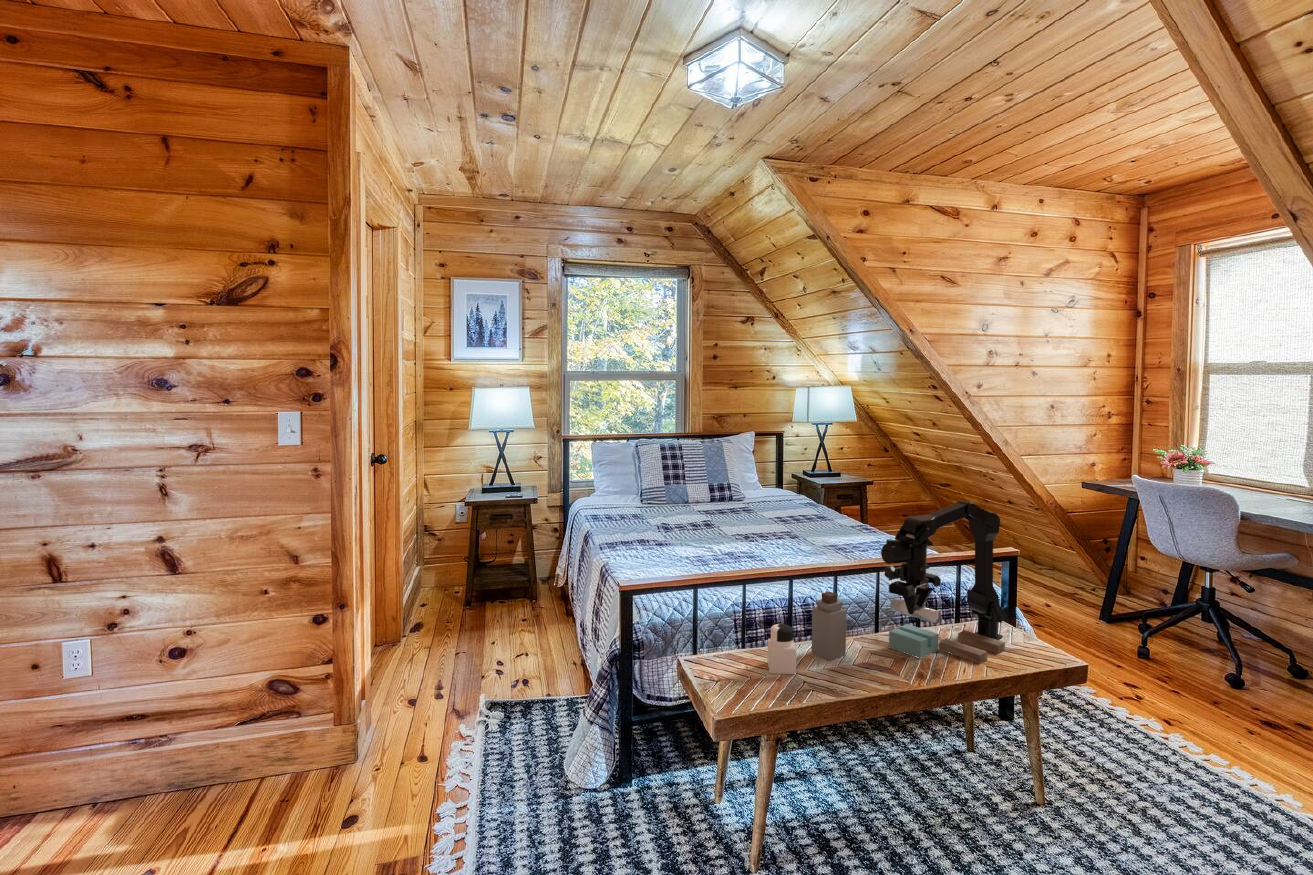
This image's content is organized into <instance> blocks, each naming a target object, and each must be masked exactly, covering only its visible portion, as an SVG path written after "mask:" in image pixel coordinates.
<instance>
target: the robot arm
mask: <svg viewBox="0 0 1313 875" xmlns="http://www.w3.org/2000/svg"><path fill="white" fill-rule="evenodd" d="M961 519H964V520H966V521H968V529H969V531H970V533H971V534H972V536H973V538H974V585H972V588H971V589H967V591H966V593H967V599H966V603H968V607H969V609H970V612H971V614H973V615H975V616H977V630H976V631H975V632H974V633H976V634H979V635H982V636H986V637H989V638H992V639H996V640H1001V639H1002V638H1004V635H1002V634H999V623H1001V624H1002V623H1003V622H1005V621H1006V620H1007V616H1008V613H1007V612H1006V611H1005V610H1004V609H1003V608H1002V607H1001V605H1000V599H999V595H998V592H997V591H996V589H995V587H994V539H996V537H997V535H998V534H999V532H1000V526H1001V525H1000V524H1001V519H1000V516H999V515H998V514H997V513H995V512H992V511H988V510H985V508H982V507H980V506H977V504H975V503H974V502H970V501H965V500H959V501H957V502H955V503H953V504H950V505H948V506H946V507H944V508H941V509H938V510H936V511H935V512H934V511H933V512H931V513H930V514H923V515H922V514H921V515H919V514H918V515H913V516H908V517H907V518H905V519H904V522H903V524H902V525H901V527H900V528H899V531H898V532H897V533H896V535H895V536H894V539H887V540H886V541H885V544H883V546H882V547H881V550H880V555H881V558H882V560H883V562H884V563H885V564H888V565H891V566H887V567H885V568H884V576H885V577H886V578H887V579H888V581H892V580H897V581H893V582H891V583H890V584H889V585H888V593H890V594H893V595H897V596H900V597H902V598H903V601H905V604H906V607H907V610H908V613H909V614H911V615H912V614H913V612H914V610H915V607H916V605H919V606H923V607H924V606H925V604H926V601H927V600H928V599H929V597H930V596H931V594H932V592H934V588H933V587H935V588H937V587H939V586H941V585H942V584H941V583H942V582H941V581H942V580H941V577H940V576H939V575H938V574H932V573H928V572H927V570H929V569H930V564H927V554H928V553H927V552H928V547H931V546H934V542H932V541H931V540H930V539H929V538H930V537H933V536H934V535H935V534H936V532H937V531H938V529H940V528H942V527H944V526H947V525H950V524H952V523H954V522H957V521H959V520H961ZM892 564H894V565H895V564H901V566H898V567H894V566H893V565H892ZM898 579H899V580H898ZM930 584H932V586H933V587H930Z"/></svg>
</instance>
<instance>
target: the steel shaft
mask: <svg viewBox="0 0 1313 875" xmlns="http://www.w3.org/2000/svg"><path fill="white" fill-rule="evenodd" d="M889 607H890V610H891V611H894V612H897V613H900V614H904V615H907V616H910V617H913V618H916V619H920V620H923V621H926V622H930V623H932V624H936V625H937V624H939V623H940V622H941V618H942V613H941V611H939V610H936V609H933V608H929V607H925V606H924V605H923V606H919V605H916V607H915V610H914V612H913V614H912V615H911V614H909V613H908V610H907V607H906V604H905V601H904V600H901V599H898V598H892V599H891V601H890V603H889Z"/></svg>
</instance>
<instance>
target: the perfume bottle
mask: <svg viewBox="0 0 1313 875" xmlns="http://www.w3.org/2000/svg"><path fill="white" fill-rule="evenodd" d="M838 595H839V594H838V593H835V592H832V591H824V592H822V593H821V598H819V599H817V600H816V602H815V603H816V605H817V606H815V607H812V609H811V610H812V612H811V614H812V615H811V616H812V618H811V654H812V655H815V656H817V657H819V658H821V659H823V660H826V661H828V662H831V661H834V660H837V659H840V658H842V657H846V652H847V650H846V646H847V645H846V644H847V609H844V608H842V607H843V605H844V601H841V600H838V597H839V596H838Z"/></svg>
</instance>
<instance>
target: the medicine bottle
mask: <svg viewBox="0 0 1313 875" xmlns="http://www.w3.org/2000/svg"><path fill="white" fill-rule="evenodd" d="M767 666H768V667H767V668H768V671H769V674H774V675H775V674H776V675H777V674H778V675H797V647H796V645H795V641H794V628H793V627H792V626H790V625H789V624H785V623H777V624H773V625H772V626H771V627H770V638H768V639H767Z"/></svg>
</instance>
